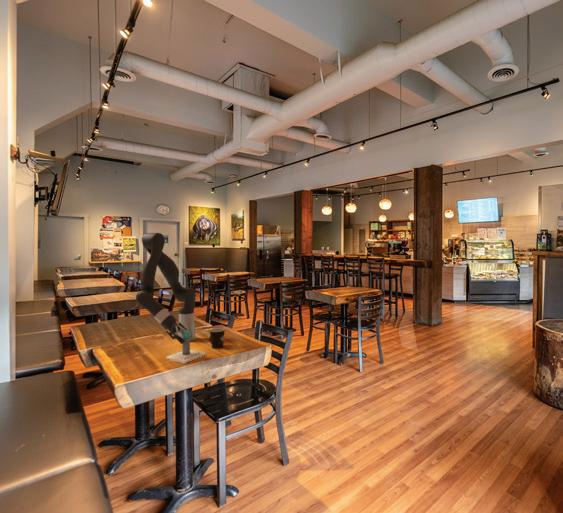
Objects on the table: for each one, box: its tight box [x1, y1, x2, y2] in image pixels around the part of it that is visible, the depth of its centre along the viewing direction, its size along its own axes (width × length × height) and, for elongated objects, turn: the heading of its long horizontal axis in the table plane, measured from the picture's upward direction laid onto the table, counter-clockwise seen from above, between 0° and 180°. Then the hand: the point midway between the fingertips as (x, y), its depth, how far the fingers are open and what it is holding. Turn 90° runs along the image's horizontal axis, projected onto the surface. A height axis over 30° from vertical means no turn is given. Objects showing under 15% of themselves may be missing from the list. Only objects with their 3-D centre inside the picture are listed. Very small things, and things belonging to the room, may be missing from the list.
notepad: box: [165, 349, 207, 364], centre depth 174 cm, size 15×14×1 cm
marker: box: [181, 331, 191, 355], centre depth 175 cm, size 4×4×12 cm
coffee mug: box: [209, 327, 226, 350], centre depth 190 cm, size 12×9×10 cm
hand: (186, 340), depth 175 cm, fingers open, 8 cm apart
